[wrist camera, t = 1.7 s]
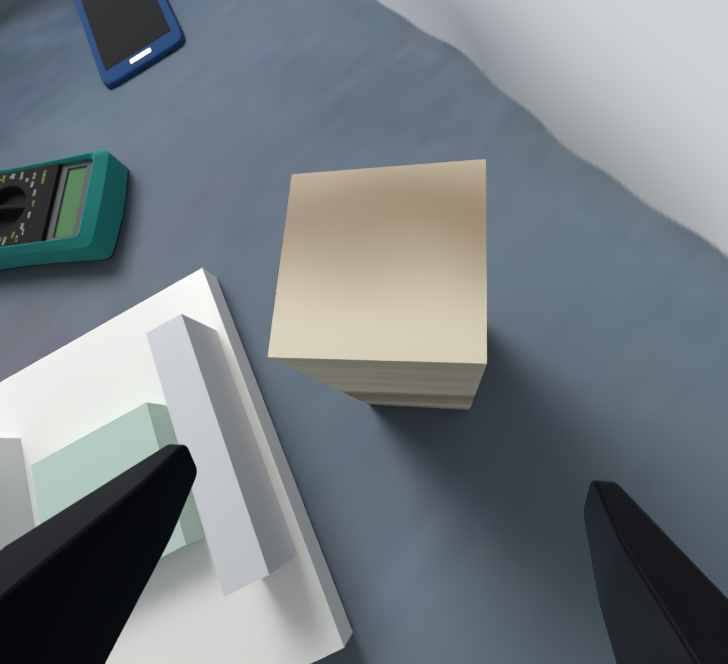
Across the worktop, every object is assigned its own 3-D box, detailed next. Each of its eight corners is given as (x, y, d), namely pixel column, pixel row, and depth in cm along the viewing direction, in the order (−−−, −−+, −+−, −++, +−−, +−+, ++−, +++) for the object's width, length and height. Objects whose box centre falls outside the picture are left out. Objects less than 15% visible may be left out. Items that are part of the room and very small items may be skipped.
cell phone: (111, 95, 32) (103, 88, 31) (76, -5, 37) (68, -14, 36) (190, 47, 32) (184, 38, 31) (145, -49, 36) (138, -59, 36)
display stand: (352, 631, 18) (321, 688, 14) (59, 773, 20) (-51, 863, 15) (216, 277, 25) (167, 243, 21) (2, 398, 26) (-86, 389, 22)
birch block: (469, 409, 20) (486, 363, 9) (369, 404, 21) (267, 357, 10) (470, 311, 21) (485, 159, 10) (375, 311, 22) (291, 174, 11)
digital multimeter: (-25, 196, 33) (-70, 173, 30) (136, 169, 30) (103, 141, 27) (-49, 282, 31) (-99, 266, 28) (121, 262, 28) (84, 242, 25)
